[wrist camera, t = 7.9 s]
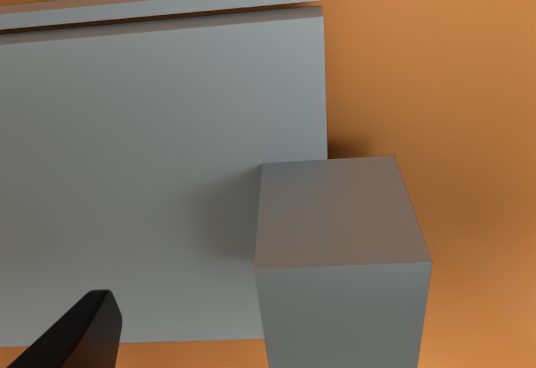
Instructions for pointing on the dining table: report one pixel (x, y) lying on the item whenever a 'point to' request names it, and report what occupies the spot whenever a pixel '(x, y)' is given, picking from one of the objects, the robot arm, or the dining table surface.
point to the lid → (198, 186)
